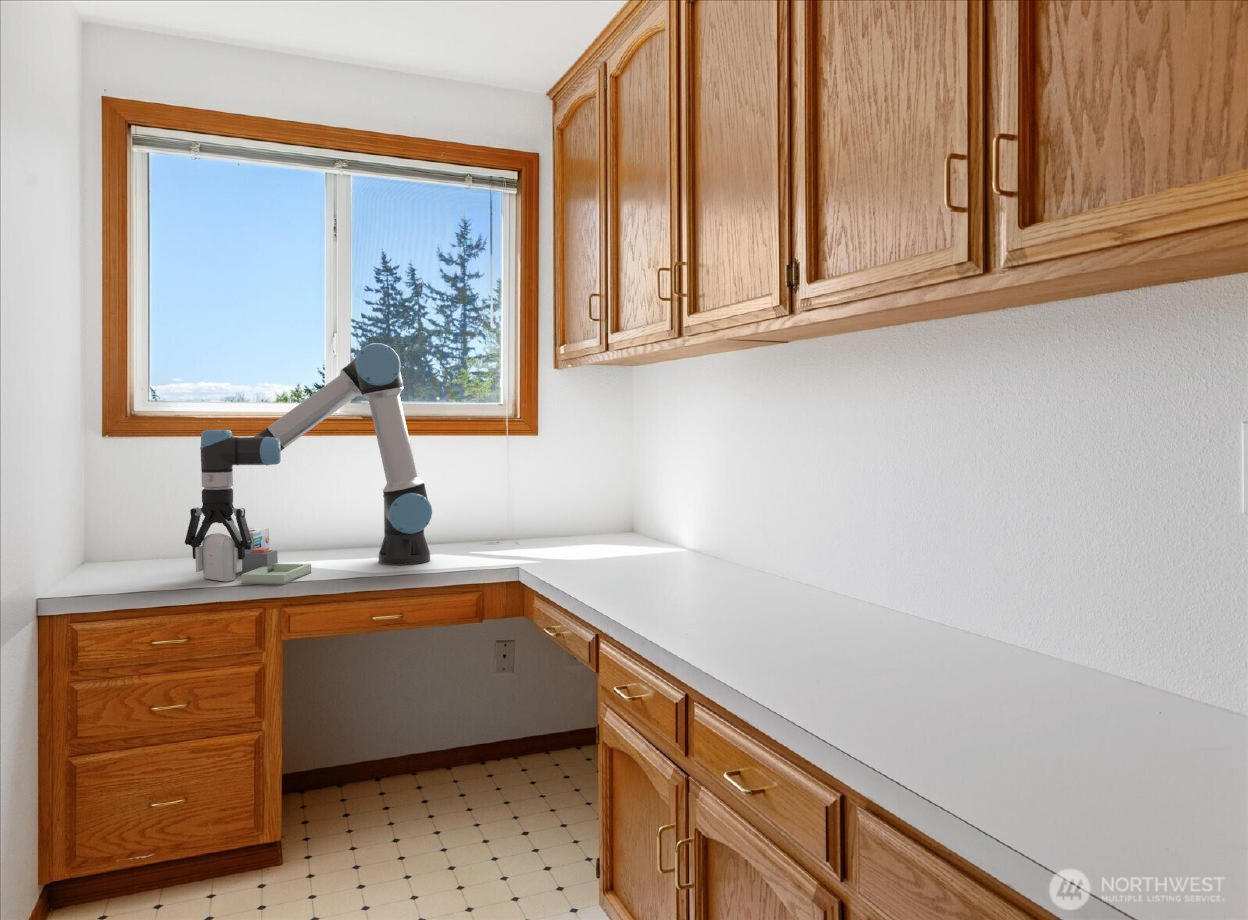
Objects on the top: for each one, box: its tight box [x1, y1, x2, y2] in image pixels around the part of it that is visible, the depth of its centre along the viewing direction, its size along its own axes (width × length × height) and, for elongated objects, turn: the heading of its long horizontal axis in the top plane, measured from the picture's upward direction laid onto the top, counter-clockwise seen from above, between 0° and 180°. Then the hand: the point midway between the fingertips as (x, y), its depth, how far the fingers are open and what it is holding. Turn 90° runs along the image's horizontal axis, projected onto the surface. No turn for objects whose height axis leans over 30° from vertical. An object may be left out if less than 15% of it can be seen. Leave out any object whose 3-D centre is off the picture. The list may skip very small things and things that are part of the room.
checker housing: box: [236, 549, 278, 576], centre depth 233 cm, size 14×6×6 cm, turn 87°
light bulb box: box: [230, 527, 270, 550], centre depth 242 cm, size 11×7×11 cm, turn 179°
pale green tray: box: [240, 563, 312, 586], centre depth 226 cm, size 11×16×2 cm
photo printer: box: [201, 532, 237, 583], centre depth 223 cm, size 10×4×12 cm, turn 57°
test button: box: [252, 547, 270, 553], centre depth 232 cm, size 3×3×5 cm
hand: (219, 571), depth 223 cm, fingers closed on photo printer, 10 cm apart
